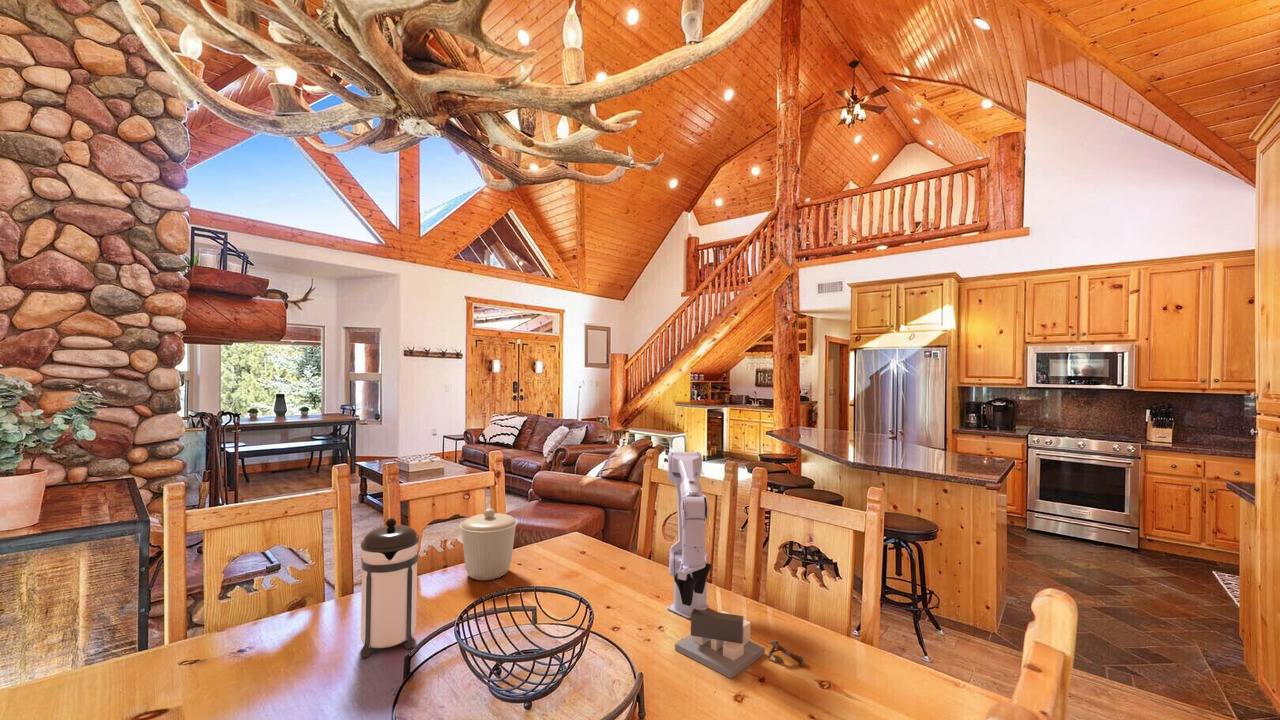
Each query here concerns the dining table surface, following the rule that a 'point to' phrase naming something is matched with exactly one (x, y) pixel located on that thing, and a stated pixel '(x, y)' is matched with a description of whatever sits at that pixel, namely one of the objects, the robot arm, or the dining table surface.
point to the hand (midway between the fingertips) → (692, 598)
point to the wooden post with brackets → (787, 652)
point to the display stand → (722, 652)
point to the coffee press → (389, 587)
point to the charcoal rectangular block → (717, 626)
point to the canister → (488, 544)
